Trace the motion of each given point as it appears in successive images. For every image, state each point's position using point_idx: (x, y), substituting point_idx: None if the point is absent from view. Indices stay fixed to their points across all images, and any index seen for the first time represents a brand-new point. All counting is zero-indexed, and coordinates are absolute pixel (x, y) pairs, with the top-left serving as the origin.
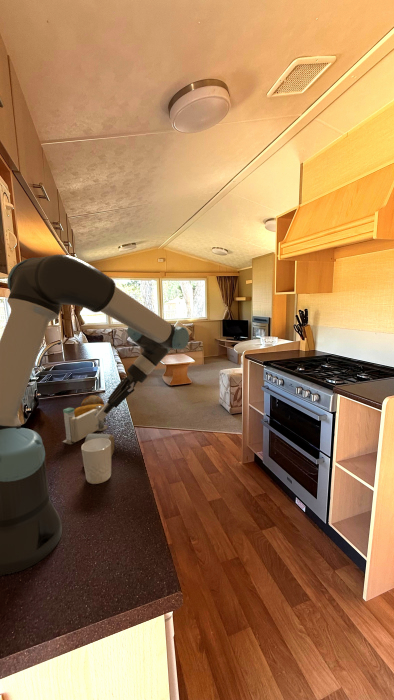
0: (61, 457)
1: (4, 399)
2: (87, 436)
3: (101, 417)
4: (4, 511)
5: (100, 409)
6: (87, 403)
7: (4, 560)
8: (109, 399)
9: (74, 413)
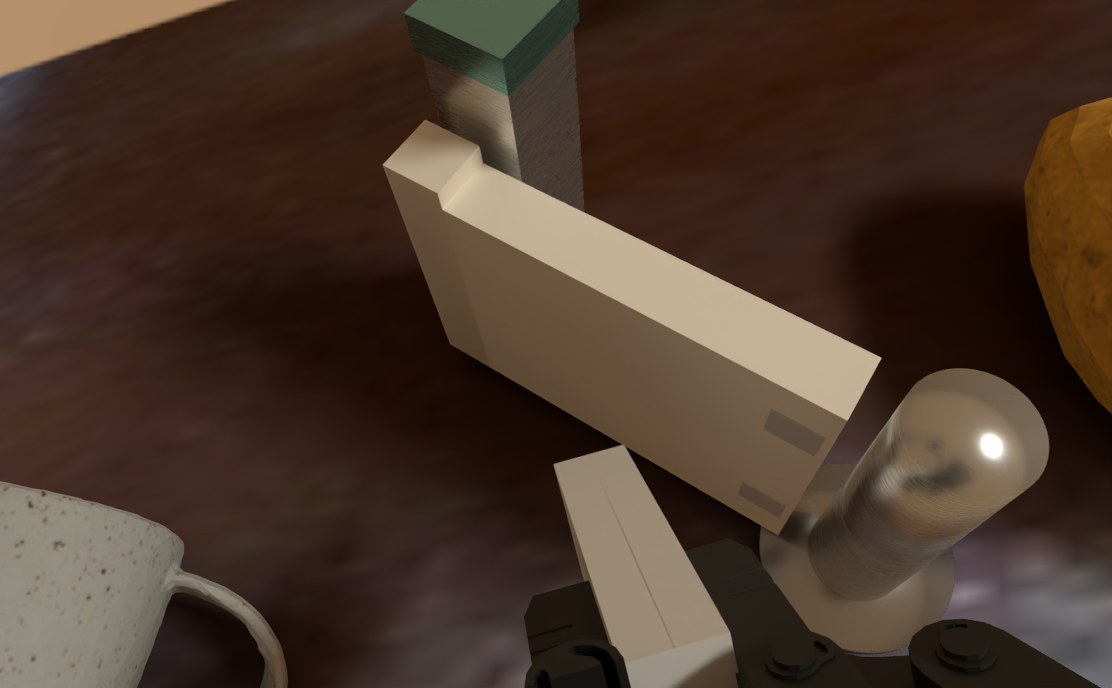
0: (208, 302)
1: None
2: None
3: (580, 562)
4: None
5: (904, 479)
6: None
7: None
8: (805, 684)
9: (1051, 132)
